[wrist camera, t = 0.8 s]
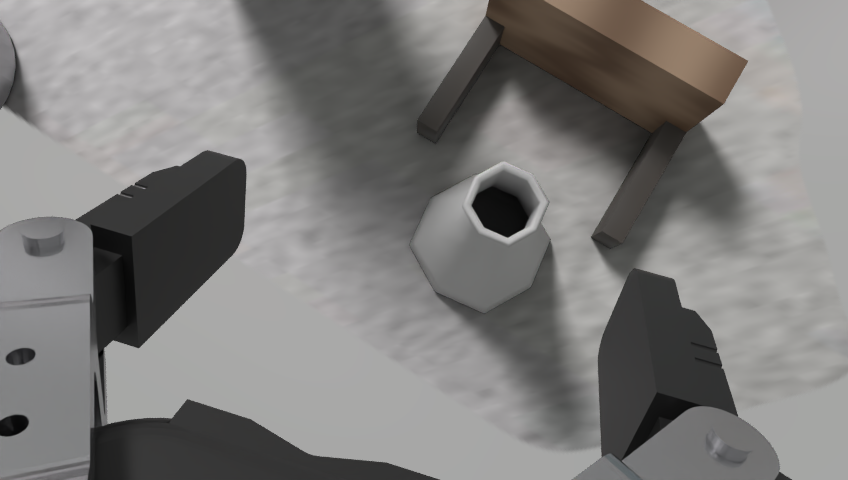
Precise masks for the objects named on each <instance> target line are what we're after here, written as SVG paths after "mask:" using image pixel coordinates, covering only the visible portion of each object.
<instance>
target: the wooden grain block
mask: <svg viewBox="0 0 848 480" xmlns="http://www.w3.org/2000/svg"><path fill="white" fill-rule="evenodd" d="M499 44H500V45H502V46H504V47H505V48H507V49H509V50H511V51H512V52H514V53H516V54H517V55H519V56H521V57H523V58H524V59H526V60H528V61H529V62H531V63H533V64H534V65H536V66H538V67H540V68H541V69H543V70H545V71H546V72H548V73H550V74H552V75H553V76H555V77H557V78H558V79H560V80H562V81H564V82H565V83H567V84H569V85H570V86H572V87H574V88H576V89H577V90H579V91H581V92H582V93H584V94H586V95H588V96H589V97H591V98H593V99H594V100H596V101H598V102H600V103H601V104H603V105H605V106H606V107H608V108H610V109H611V110H613V111H615V112H617V113H618V114H620V115H622V116H623V117H625V118H627V119H629V120H630V121H632V122H634V123H635V124H637V125H639V126H641V127H642V128H644V129H646V130H647V131H649V132H651V133H652V134H651V136H650V137H649V139H648V141H647V143H646V144H645V146H644V148H643V149H642V151H641V153H640V154H639V156H638V158H637V160H636V161H635V163H634V165H633V166H632V168H631V170H630V172H629V173H628V175H627V177H626V178H625V180H624V182H623V183H622V185H621V187H620V189H619V190H618V192H617V194H616V195H615V197H614V199H613V201H612V202H611V204H610V206H609V207H608V209H607V211H606V212H605V214H604V216H603V218H602V219H601V221H600V223H599V224H598V226H597V228H596V230H595V231H594V233H593V235H592V236H591V238H593V239H595V240H596V241H598V242H600V243H601V244H603V245H605V246H606V247H608V248H610V249H611V248H613V247H615V246H617V245H619V244H622V243H623V241H624V239H625V238H626V236H627V234H628V232H629V231H630V229H631V227H632V226H633V224H634V222H635V220H636V219H637V217H638V215H639V213H640V212H641V210H642V208H643V206H644V205H645V203H646V201H647V200H648V198H649V196H650V194H651V193H652V191H653V189H654V187H655V186H656V184H657V182H658V180H659V179H660V177H661V175H662V173H663V172H664V170H665V168H666V167H667V165H668V163H669V161H670V160H671V158H672V156H673V154H674V153H675V151H676V149H677V147H678V146H679V144H680V142H681V141H682V139H683V137H684V135H685V134H686V132H687V131H689V130H690V129H691V128H693V127H694V126H695V125H697V124H698V123H699V122H701V121H702V120H703V119H705V118H706V117H707V116H708V115H710V114H711V113H712V112H714V111H715V110H716V109H718V108H719V107H720V106H722V105H723V104H724V103H725V101H726V99H727V97H728V96H729V94H730V92H731V90H732V89H733V87H734V85H735V83H736V82H737V80H738V78H739V76H740V75H741V73H742V71H743V69H744V68H745V66H746V64H747V62H748V61H747V60H745V59H744V58H742V57H740V56H738V55H737V54H735V53H733V52H731V51H730V50H728V49H726V48H724V47H722V46H721V45H719V44H717V43H715V42H714V41H712V40H710V39H708V38H707V37H705V36H703V35H701V34H700V33H698V32H696V31H694V30H693V29H691V28H689V27H687V26H685V25H684V24H682V23H680V22H678V21H677V20H675V19H673V18H671V17H670V16H668V15H666V14H664V13H663V12H661V11H659V10H657V9H656V8H654V7H652V6H650V5H648V4H647V3H645V2H643V1H641V0H489V3H488V7H487V12H486V16H485V17H484V19H483V21H482V22H481V24H480V25H479V27H478V28H477V30H476V31H475V33H474V34H473V36H472V37H471V39H470V40H469V42H468V43H467V45H466V47H465V48H464V50H463V51H462V53H461V54H460V56H459V57H458V59H457V60H456V62H455V63H454V65H453V66H452V68H451V69H450V71H449V72H448V74H447V76H446V77H445V79H444V80H443V82H442V83H441V85H440V86H439V88H438V89H437V91H436V92H435V94H434V95H433V97H432V98H431V100H430V102H429V103H428V105H427V106H426V108H425V109H424V111H423V112H422V114H421V115H420V117H419V118H418V120H417V133H419V134H421V135H422V136H424V137H426V138H427V139H429V140H431V141H432V142H434V143H436V142H437V140H438V139H439V137H440V136H441V134H442V133H443V131H444V130H445V128H446V126H447V125H448V123H449V122H450V120H451V119H452V117H453V116H454V114H455V113H456V111H457V109H458V108H459V106H460V105H461V103H462V102H463V100H464V99H465V97H466V95H467V94H468V92H469V91H470V89H471V88H472V86H473V85H474V83H475V82H476V80H477V78H478V77H479V75H480V74H481V72H482V71H483V69H484V68H485V66H486V64H487V63H488V61H489V60H490V58H491V57H492V55H493V54H494V52H495V51H496V49H497V47H498V46H499Z"/></svg>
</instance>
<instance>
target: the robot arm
mask: <svg viewBox="0 0 848 480" xmlns="http://www.w3.org/2000/svg"><path fill="white" fill-rule="evenodd" d="M15 67H16V65H15V53H14V48H13V45H12V42H11V39H10V36H9V34H8V32H7V31H6V29H5V28H4V26H3V24H2V23H1V22H0V109H1V108H2V106H3V105H4V103H5V101H6V100H7V98H8V95H9V93H10V90H11V87H12V85H13V81H14V74H15ZM245 194H246V165H245V163H244V161H243V160H241V159H238V158H234V157H231V156H227V155H223V154H220V153H216V152H212V151H208V150H207V151H204V152H202V153H200V154H199V155H197V156H196V157H194V158H193V159H191V160H190V161H188V162H186V163H185V164H183V165H182V166H180V167H179V166H174V167H171V168H167V169H163V170H160V171H156V172H152V173H151V174H149V175H148V176H146V177H144V178H143V179H141V180H139V181H138V182H136V183H135V185H134V186H132V185H131V186H130V187H128V188H126V189H125V190H123V191H122V192H121V194H120V195H118V194H117V195H115V196H113V197H112V198H110V199H108V200H107V201H105V202H104V203H102V204H100V205H99V206H97V207H96V208H94V209H92V210H91V211H89V212H87V213H86V214H84V215H82V216H81V217H79V218H78V219H76V220H73V219H68V218H62V217H39V218H32V219H27V220H23V221H19V222H16V223H13V224H11V225H9V226H7V227H5V228H3V229H2V230H0V480H439V479H436V478H433V477H430V476H426V475H423V474H420V473H417V472H414V471H411V470H408V469H404V468H401V467H398V466H395V465H392V464H389V463H383V462H373V461H362V460H352V459H341V458H330V457H320V456H313V455H310V454H308V453H306V452H304V451H302V450H300V449H299V448H297V447H295V446H294V445H292V444H290V443H289V442H287V441H285V440H284V439H282V438H281V437H279V436H277V435H276V434H274V433H272V432H271V431H269V430H267V429H266V428H264V427H262V426H261V425H259V424H257V423H256V422H254V421H252V420H251V419H247V418H245V417H241V416H238V415H235V414H232V413H229V412H226V411H223V410H219V409H216V408H213V407H210V406H207V405H204V404H201V403H197V402H194V401H191V400H186V402H185V403H184V404H183V405H182V407H181V408H180V409H179V411H178V412H177V413H176V414H175V415H174V417H173V418H172V419H169V418H144V419H134V420H126V421H121V422H116V423H111V424H107V400H106V399H107V396H106V366H105V365H106V364H105V363H106V362H105V351H104V348H105V347H106V346H107V345H108V344H109V343H110V342H111V341H113V340H114V341H118V342H121V343H124V344H127V345H130V346H134V347H137V348H140V347H141V346H142V345H143V343H145V341H147V340H148V338H150V337H151V336H152V335H153V334H154V332H156V331H157V330H158V329H159V328H160V326H161V325H163V324H164V323H165V321H167V320H168V319H169V318H170V317H171V316H172V315H173V314H174V313H175V312H176V311H177V310H178V309H179V308H180V306H182V305H183V304H184V303H185V302H186V301H187V300H188V299H189V298H190V297H191V296H192V295H193V294H194V293H195V292H196V291H197V290H198V289H199V288H200V287H201V286H202V285H203V284H204V283H205V282H206V281H207V280H208V279H209V278H210V277H211V276H212V275H213V274H214V273H215V272H216V271H217V270H218V269H219V268H220V267H221V266H222V265H223V264H224V263H225V262H226V261H227V260H228V259H229V258H230V257H231V256H232V255H233V254H234V253H235V251H236V250H237V248H238V246H239V244H240V241H241V238H242V235H243V230H244V217H245ZM716 352H717V347H716V344H715V341H714V337H713V334H712V331H711V330H710V328H709V327H708V326H707V325H706V324H705V322H704V321H703V320H702V319H701V318H700V316H699V315H698V314H697V313H696V312H695V311H693V310H689V309H686V308H682V307H681V303H680V299H679V295H678V291H677V287H676V283H675V280H674V279H672V278H668V277H665V276H661V275H658V274H654V273H650V272H647V271H643V270H639V269H636V268H635V269H633V270H632V271H631V272H630V274H629V276H628V278H627V280H626V282H625V284H624V287H623V289H622V291H621V294H620V296H619V298H618V301H617V303H616V305H615V308H614V310H613V312H612V315H611V317H610V319H609V322H608V324H607V326H606V329H605V331H604V334H603V337H602V340H601V344H600V348H599V354H598V377H599V402H600V427H601V451H602V458H600V459H599V460H598V461H596V462H595V463H594V464H592V465H591V466H590V467H588V468H587V469H585V470H584V471H583V472H582V473H580V474H579V475H578V476H576V477H575V478H574V479H572V480H792V479H790V478H788V477H786V476H785V475H784V474H782V473H781V472H779V470H780V466H779V460H778V457H777V454H776V452H775V450H774V449H773V447H772V446H771V444H770V443H769V442H768V441H767V439H766V438H765V437H764V436H763V435H762V434H761V433H760V432H759V431H758V430H757V429H755V428H754V427H753V426H751V425H750V424H749V423H747V422H746V421H744V420H742V419H741V418H739V417H738V414H737V411H736V408H735V405H734V401H733V398H732V395H731V392H730V389H729V385H728V382H727V379H726V376H725V373H724V369H721V367H722V363H721V360H720V357H719V353H716Z"/></svg>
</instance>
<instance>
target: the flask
mask: <svg viewBox="0 0 848 480" xmlns="http://www.w3.org/2000/svg"><path fill="white" fill-rule="evenodd" d="M548 205H549V200H548V198H547V197H546V195H545V193H544V191H543V190H542V188H541V186H540V185H539V183H538V181H537V180H536V178H535V176H534V175H533V174H532V173H529V172H527V171H525V170H523V169H520V168H518V167H516V166H513V165H511V164H509V163H506V162H504V161H503V162H501V163H499V164H497V165H495V166H493V167H491V168H490V169H488V170H486V171H484V172H482V173H480V174H474V175H473V176H471V177H469V178H467V179H465V180H463V181H461V182H460V183H458V184H456V185H454V186H452V187H450V188H448V189H447V190H445V191H443V192H441V193H439V194H437V195H436V196H434V197H432V198H431V199H430V201H429V203H428V205H427V208H426V210H425V212H424V214H423V216H422V218H421V221H420V223H419V225H418V227H417V229H416V232H415V234H414V236H413V238H412V240H411V243H410V245H409V246H410V247H411V249H412V251H413V253H414V255H415V256H416V258H417V260H418V262H419V264H420V265H421V267H422V269H423V271H424V273H425V274H426V276H427V278H428V280H429V282H430V283H431V285H432V287H433V289H434V291H435V292H437V293H439V294H442V295H444V296H446V297H448V298H451V299H453V300H455V301H457V302H459V303H462V304H464V305H466V306H468V307H471V308H473V309H475V310H477V311H480V312H482V313H484V314H485V313H486V312H488V311H490V310H492V309H493V308H495V307H497V306H499V305H501V304H502V303H504V302H506V301H508V300H509V299H511V298H513V297H515V296H516V295H518V294H520V293H522V292H524V291H525V290H527V289H529V288H531V285H532V283H533V281H534V278H535V276H536V273H537V271H538V269H539V266H540V264H541V261H542V259H543V257H544V254H545V252H546V250H547V247H548V245H549V242H550V240H551V239H550V237H549V236H548V234H547V232H546V231H545V229H544V227H543V226H542V224H541V221H542V219H543V216H544V214H545V212H546V209H547V207H548Z"/></svg>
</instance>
